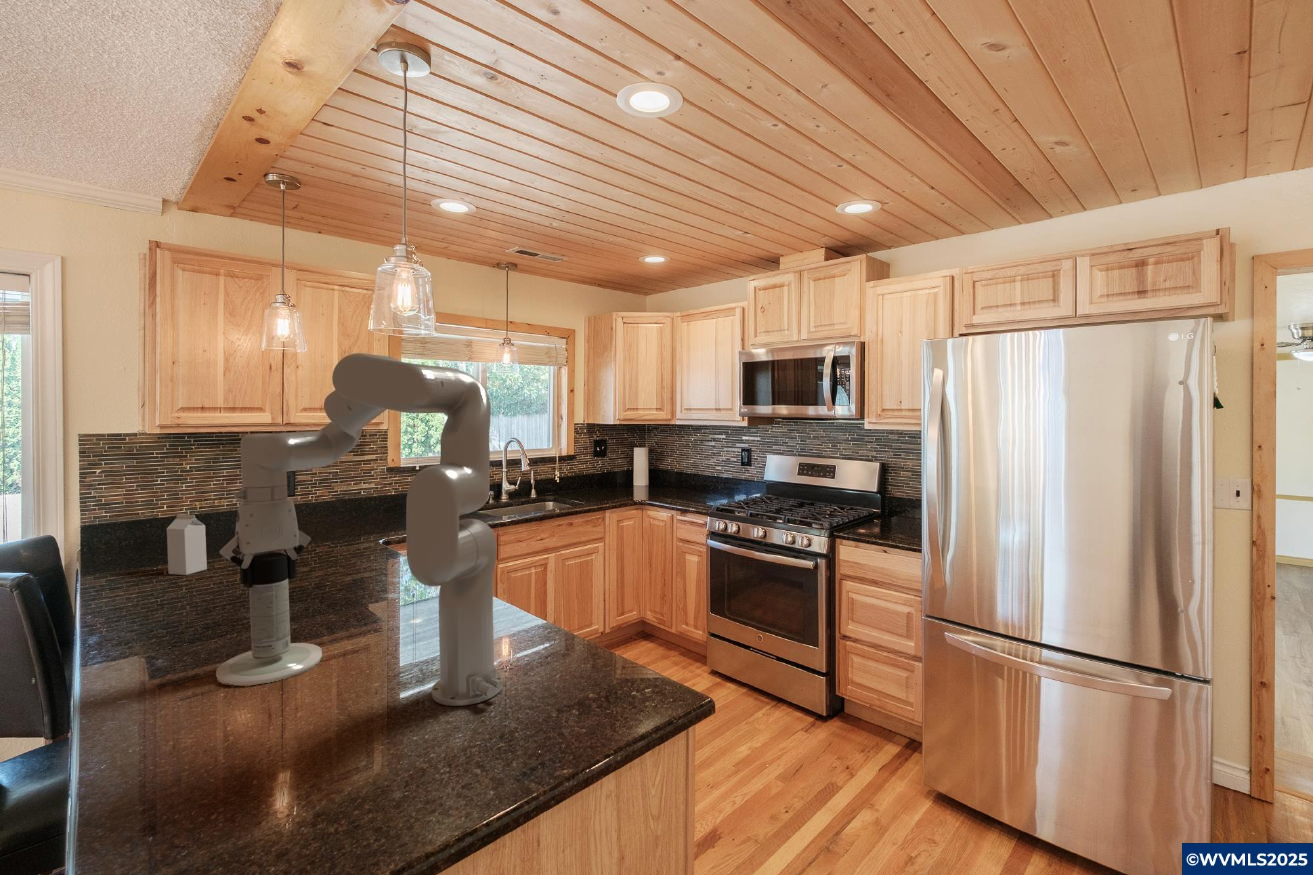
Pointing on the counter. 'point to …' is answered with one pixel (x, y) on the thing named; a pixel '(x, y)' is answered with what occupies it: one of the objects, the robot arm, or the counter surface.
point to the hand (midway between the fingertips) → (268, 581)
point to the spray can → (269, 605)
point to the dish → (269, 665)
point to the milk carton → (186, 545)
